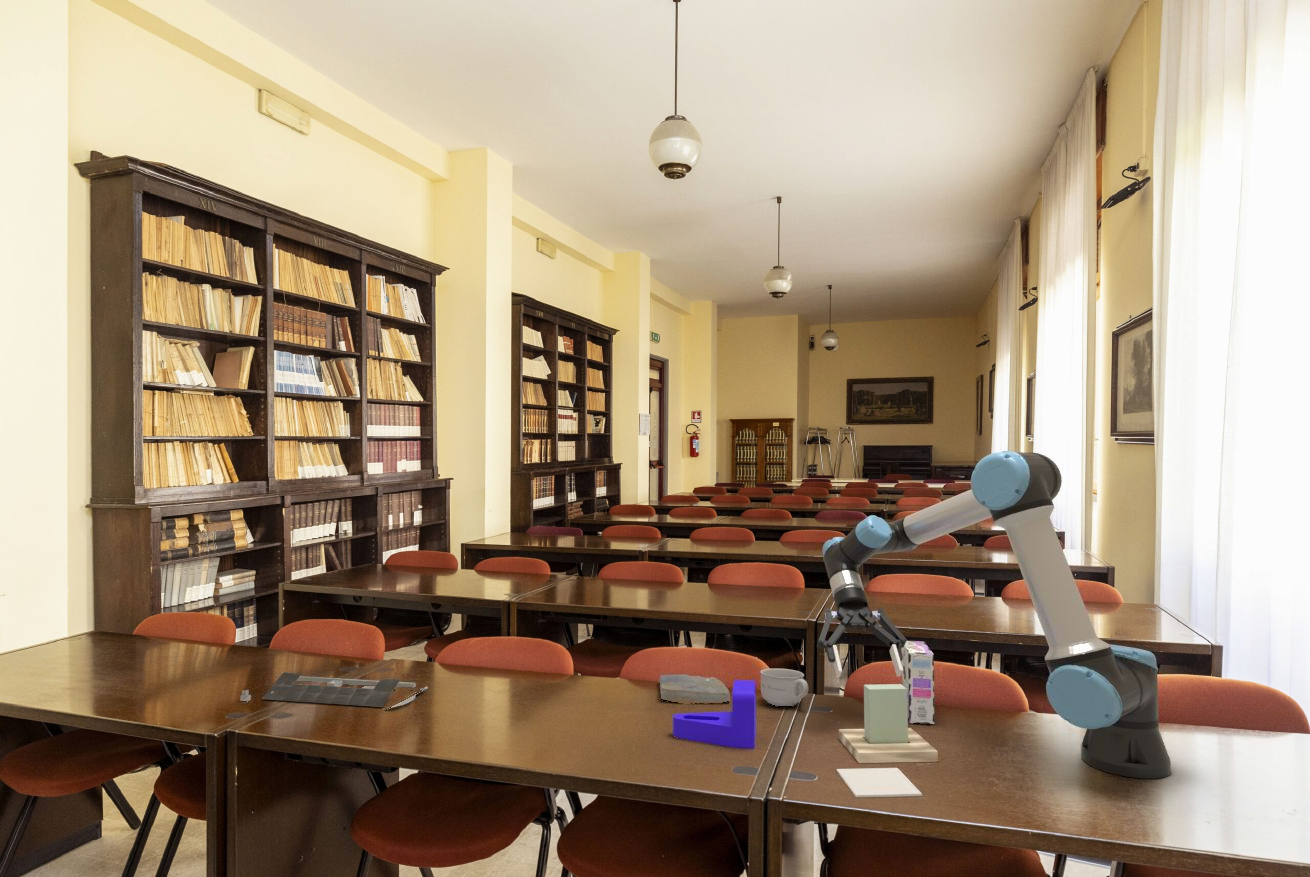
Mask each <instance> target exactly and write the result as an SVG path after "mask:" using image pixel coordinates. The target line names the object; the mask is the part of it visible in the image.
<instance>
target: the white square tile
mask: <svg viewBox="0 0 1310 877" xmlns="http://www.w3.org/2000/svg"><path fill="white" fill-rule="evenodd" d="M836 772H837V773H838V775H839V776H840V778H841V779H842V781H843V782H844V783H845V785H846V786H847V787H848V789H849V790H850V792H851V793H852V795H853V796H854V797H855V798H856V799H857V798H894V797H895V798H897V797H899V798H900V797H902V798H904V797H923V793H922V792H921V791H920V790H919V789H918V788H917V786H916V785H914V783H912V782H911V781H910V779H909V778H908V777H907V776H906V775H905V774H904V773H903V772H902V771H901V770H900V769H899V768H898V767H875V768H872V767H871V768H837V769H836Z"/></svg>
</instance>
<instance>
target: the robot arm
mask: <svg viewBox="0 0 1310 877" xmlns="http://www.w3.org/2000/svg"><path fill="white" fill-rule="evenodd" d="M1062 482H1063V480H1062V474H1061V471H1060V469H1059V467H1058V465H1057V464H1056V463H1055V461H1054V460H1052V459H1051V458H1049V456H1047V455H1044V454H1043V453H1042V454H1041V453H1039V452H1022V451H1018V452H1017V451H1013V450H1012V451H1011V450H1004V451H1001V452H999V451H998V452H993V453H990V454H987V455H986V456H984V457H983V458H981V459H980V460H979V461H978V463H977V464H976V465H975V467H974V469H973V471H972V474H971V477H970V488H971V489H969V490H966V491H964V492H962V493H959V494H957V495H954V496H952V497H949V498H946V499H944V500H942V501H940V502H938V503H935V504H933V505H931V506H928V507H925V508H923V509H921V510H918V511H916V512H914V513H911V514H909V515H906V516H904V517H902V518H899V519H897V520H894V521H890V522H887V521H885V520H884V519H883V518H882V517H878V516H876V515H873V514H871V515H869V516H867V517H866V518H865V519H863V520H861V521H859V522H858V524H857V525H856V526H855V527H854V528H853V529H852V530H851V531H850V532H848V534H847V535H846V536H845V537H842V536H835V537H832V539H828V540H826V541H825V542H824V544H822V545H823V546H822V548H821V549H822V557H823V564H824V565H825V569H826V573H827V577H828V580H829V585H830V588H831V593H832V597H833V601H834V605H835V606H834V607H835V610H836V611H834V610H832V609H830V608H826V610H825V612H824V624H823V627H822V630H821V633H820V635H819V638H818V640H817V644H816V647H817V648H818V649H823V650H824V652H825V653H826V655H827V660H828V662H829V663H833V668H834V672H835V676H836V678H841V675H842V673H843V669H842V664H841V659H840V656H839V655H840V654H839V652H838V647H837V645H836V643H837V641H838V640H839V639H840V637H841V636H842V635H843V633H844V632H845V631H846V629H849V630H850V631H855V630H860V631H863V630H864V629H865V631H867V632H868V633H871V634H873V635H874V636H875V637H877V638H878V639H879V640H880V641H881V642H883V643H884V644H885V645H887V646H888V647H889V648H890V649H889V655H890V658H891V661H892V664H893V668H894V671H895V675H896V677H897V678H898V677H902V672H903V667H902V659H903V655H902V651H901V648H903V647H904V645H905V643H906V641H908V639H907V638H906V636H905V635H903V633H901V631H900V630H899V629H898V628H897V627H896V626H895V624H894V623H893V622H892V621H891V620H890V619H889V618H888V616H887V615H886V613H885V610H884V609H883V608H882V607H879V608H878V610H873V611H872V610H871V609H870V607H869V603H868V599H867V596H866V593H865V588H864V585H863V582H862V578H861V574H860V572H859V568H860V566H861V565H863V564H864V563H866V562H867V561H868V560H869V559H870V558H871V557H872V556H874V555H879V554H890V553H899V552H901V553H905V552H909V551H912V550H915V549H916V548H918V546H919V545H921V544H923V543H926V542H929V541H931V540H932V541H933V540H935V539H937V538H939V537H940V538H941V537H942V536H945V535H948V534H950V533H953V532H956V531H958V530H959V531H960V530H961V529H964V528H966V527H970V526H972V525H974V524H977V523H980V522H982V521H985V520H989V519H991V518H992V520H993V523H994V524H995V525H996V526H998V527H1000V528H1002V529H1004V531H1005V532H1006V535H1007V538H1008V540H1009V542H1010V546H1011V548H1012V551H1013V554H1014V557H1015V560H1016V561H1017V562H1016V563H1017V564H1018V567H1019V569H1020V572H1021V575H1022V578H1023V581H1024V583H1025V586H1026V588H1027V591H1028V594H1029V596H1030V600H1031V602H1032V604H1033V607H1034V610H1035V612H1036V614H1037V615H1036V616H1037V618H1038V620H1039V623H1040V625H1041V628H1042V631H1043V634H1044V637H1045V639H1046V642H1047V644H1048V651H1047V653H1046V655H1045V656H1044V660H1045V663H1046V666H1047V668H1048V671H1049V676H1048V678H1047V682H1046V684H1045V685H1046V686H1045V690H1046V697H1047V700H1048V702H1049V704H1050V706H1051V707H1052V709H1053V710H1054V711H1055V712H1056V714H1057V715H1058V716H1059V717H1060V718H1062V719H1063V720H1064V721H1066V722H1068V723H1069V724H1071V725H1073V726H1075V727H1078V728H1082V729H1085V730H1086V731H1085V734H1084V736H1083V738H1082V741H1081V745H1080V746H1081V747H1080V756H1081V757H1080V758H1081V759H1082V760H1083V762H1085V763H1086V764H1087V765H1088V766H1090V767H1092V768H1095V769H1097V770H1100V771H1103V772H1107V773H1110V774H1112V775H1113V774H1114V775H1117V776H1118V775H1119V776H1122V777H1128V778H1133V779H1135V778H1136V779H1161V778H1166V777H1168V776H1170V775H1171V774H1172V773H1171V772H1172V767H1171V766H1172V763H1171V758H1170V755H1169V753H1168V750H1167V748H1166V745H1165V742H1164V740H1163V737H1162V734H1161V731H1160V726H1159V725H1160V724H1159V723H1160V722H1159V691H1158V690H1159V689H1158V687H1159V686H1158V673H1159V668H1158V666H1157V664H1158V663H1157V658H1156V656H1155V654H1154V653H1153V652H1151V651H1149V650H1145V649H1142V648H1137V647H1131V646H1130V647H1129V646H1125V645H1124V646H1123V645H1116V644H1109V643H1107V642H1106V641H1104V640H1102V639H1100V638H1099V637H1098V636H1097V634H1096V631H1095V628H1094V626H1093V624H1092V621H1091V619H1090V616H1089V613H1088V611H1087V608H1086V605H1085V603H1084V601H1083V598H1082V595H1081V593H1080V591H1079V588H1078V586H1077V583H1076V580H1075V578H1074V575H1073V572H1072V570H1071V567H1070V566H1069V562H1068V560H1067V558H1066V555H1065V552H1064V550H1063V548H1062V545H1061V543H1060V539H1059V538H1058V534H1057V533H1056V530H1055V527H1054V525H1053V522H1052V519H1051V515H1052V513H1053V512H1054V509H1055V505H1054V503H1053V501H1054V499H1055V498H1056V497H1057V495H1059V492H1060V491H1061V487H1062ZM835 618H836V619H837V620H838V621H839V622H840V624H839V625H838V626H837V627H836V629H835V631H833V633H832V634H831V636H830V637H829V638H828V640H825V639H826V637H827V634H828V631H829V628H830V625H831V622H832V621H834V620H835ZM877 622H878V623H879V624H878V623H877Z"/></svg>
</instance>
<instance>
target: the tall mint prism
mask: <svg viewBox="0 0 1310 877" xmlns="http://www.w3.org/2000/svg"><path fill="white" fill-rule="evenodd" d="M863 716H864V718H863V721H864V722H863V724H864V726H863V727H864V728H863V729H864V734H865V740H866V741H867V743H868V744H892V743H908V728H909V727H908V726H909V720H908V708H907V688H905V687H904V686H903V685H902V683H898V684H897V683H893V684H892V683H890V684H889V683H887V684H885V683H884V684H863Z"/></svg>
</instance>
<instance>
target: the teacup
mask: <svg viewBox="0 0 1310 877" xmlns="http://www.w3.org/2000/svg"><path fill="white" fill-rule="evenodd" d="M804 676H805V674H804V673H803V672H801V671H799V670H794V669H790V668H789V669H788V668H765V669H761V670H760V692H761V696H762V698H763V699H764V700H765V701H766V703H768V704H769V703H770V704H772V705H771V706H773V705H775V706H774V707H778V706H792V707H795V706H796V705H797V704H798V703H799V702H801V701H802V698H804V697H806V696H807V695H808V694H809V693H808V692H809V684H808V682H807V680H806V679H804ZM770 704H769V705H770Z"/></svg>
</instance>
